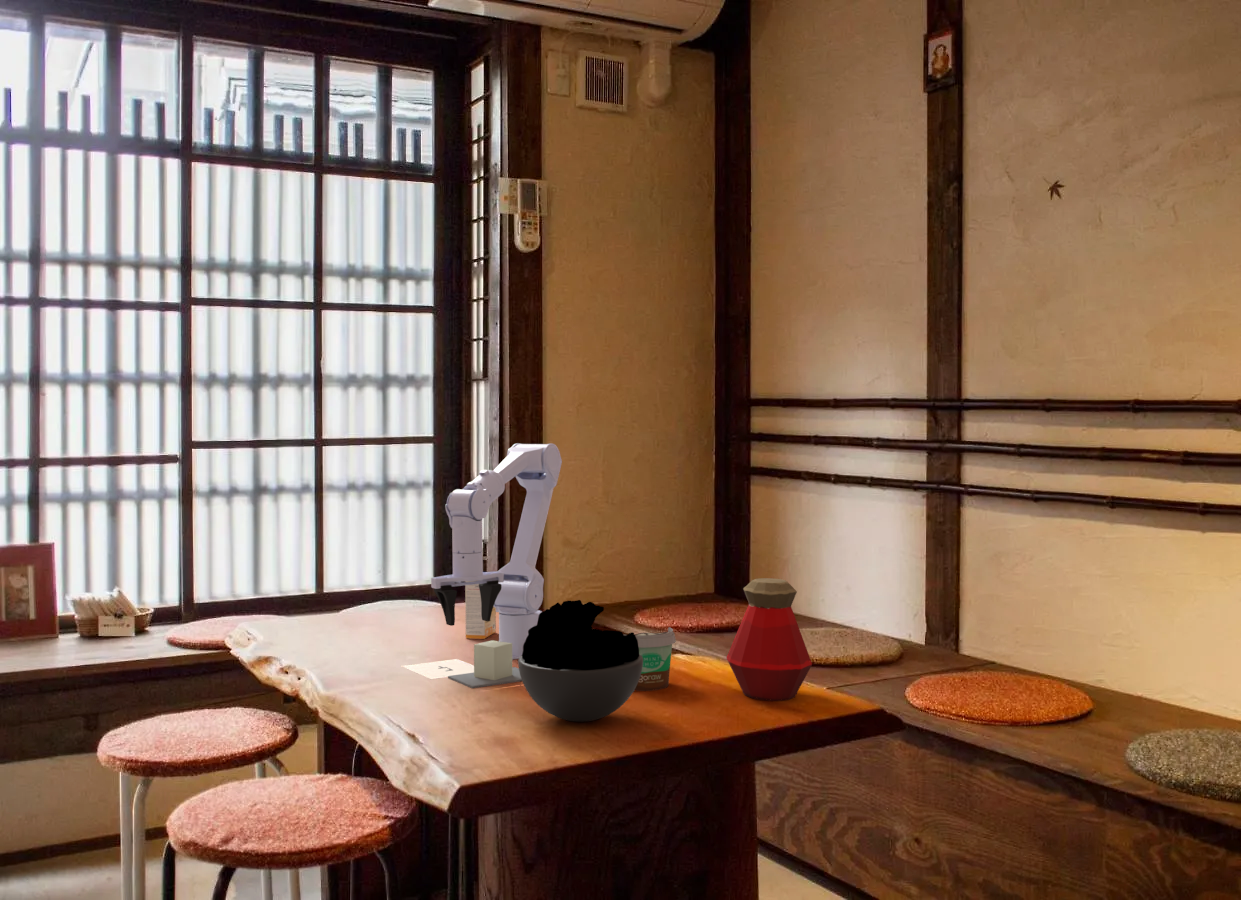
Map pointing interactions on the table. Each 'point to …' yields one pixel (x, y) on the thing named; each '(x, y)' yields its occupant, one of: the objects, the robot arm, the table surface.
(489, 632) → the supplement box
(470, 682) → the slate mat
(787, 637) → the bottle
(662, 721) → the table surface
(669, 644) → the food container
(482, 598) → the robot arm
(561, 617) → the bowl of black rocks
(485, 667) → the sage block
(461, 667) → the card
